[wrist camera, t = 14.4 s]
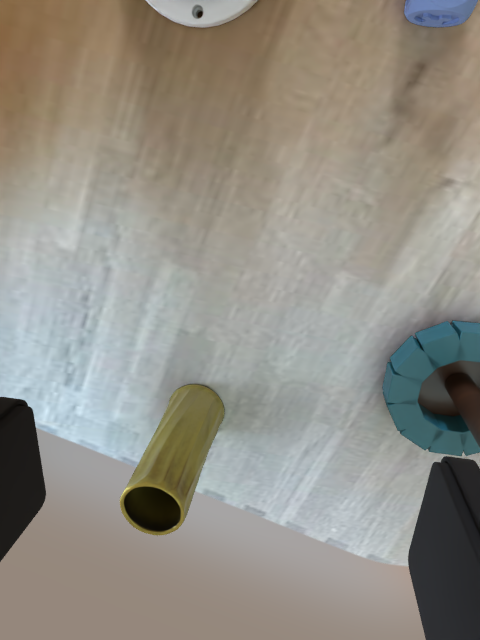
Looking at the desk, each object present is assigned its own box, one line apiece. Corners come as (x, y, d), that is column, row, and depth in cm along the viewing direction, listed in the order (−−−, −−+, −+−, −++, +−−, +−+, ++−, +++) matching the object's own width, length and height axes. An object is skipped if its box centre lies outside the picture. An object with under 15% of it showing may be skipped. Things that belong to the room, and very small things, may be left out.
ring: (397, 314, 38) (403, 325, 35) (544, 329, 36) (561, 342, 34) (373, 428, 42) (377, 445, 40) (503, 445, 41) (515, 464, 38)
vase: (236, 407, 45) (205, 511, 32) (203, 441, 47) (162, 552, 34) (190, 372, 44) (139, 465, 31) (159, 409, 47) (99, 509, 33)
